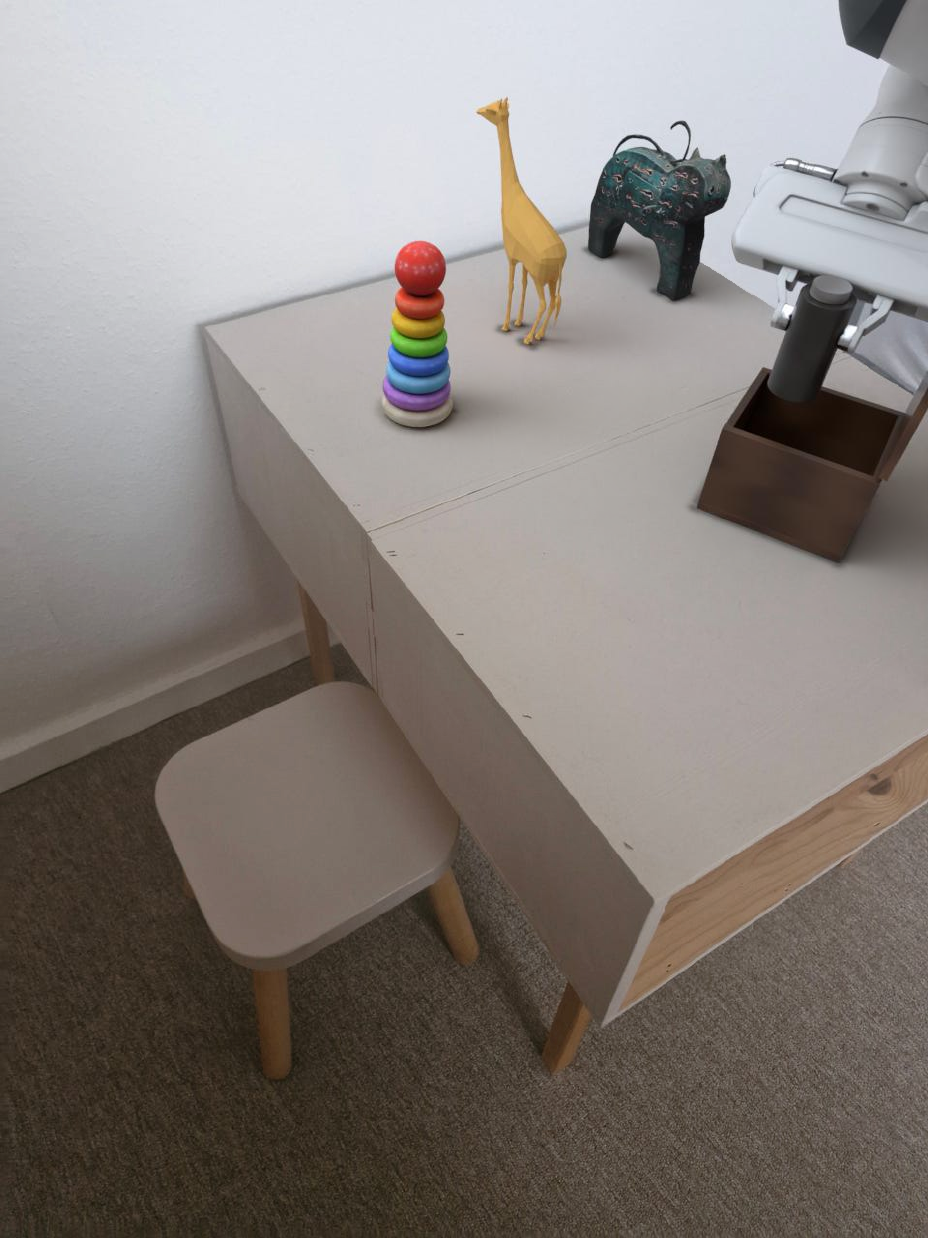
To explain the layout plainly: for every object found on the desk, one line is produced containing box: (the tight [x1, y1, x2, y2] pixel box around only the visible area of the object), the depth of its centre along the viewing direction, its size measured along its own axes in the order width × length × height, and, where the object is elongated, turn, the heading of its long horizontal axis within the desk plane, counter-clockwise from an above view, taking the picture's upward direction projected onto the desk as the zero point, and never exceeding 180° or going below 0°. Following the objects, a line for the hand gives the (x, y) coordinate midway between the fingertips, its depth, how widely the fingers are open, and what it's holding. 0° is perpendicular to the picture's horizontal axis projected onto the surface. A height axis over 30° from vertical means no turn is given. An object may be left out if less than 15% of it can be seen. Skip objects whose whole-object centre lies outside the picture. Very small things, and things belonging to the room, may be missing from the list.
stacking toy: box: [380, 240, 454, 428], centre depth 88 cm, size 8×8×19 cm
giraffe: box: [475, 96, 568, 346], centre depth 99 cm, size 16×4×25 cm, turn 39°
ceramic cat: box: [587, 120, 732, 301], centre depth 112 cm, size 20×6×20 cm, turn 37°
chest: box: [696, 366, 905, 563], centre depth 84 cm, size 15×13×10 cm
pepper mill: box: [768, 275, 858, 403], centre depth 74 cm, size 5×5×10 cm
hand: (811, 338), depth 73 cm, fingers closed on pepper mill, 4 cm apart
